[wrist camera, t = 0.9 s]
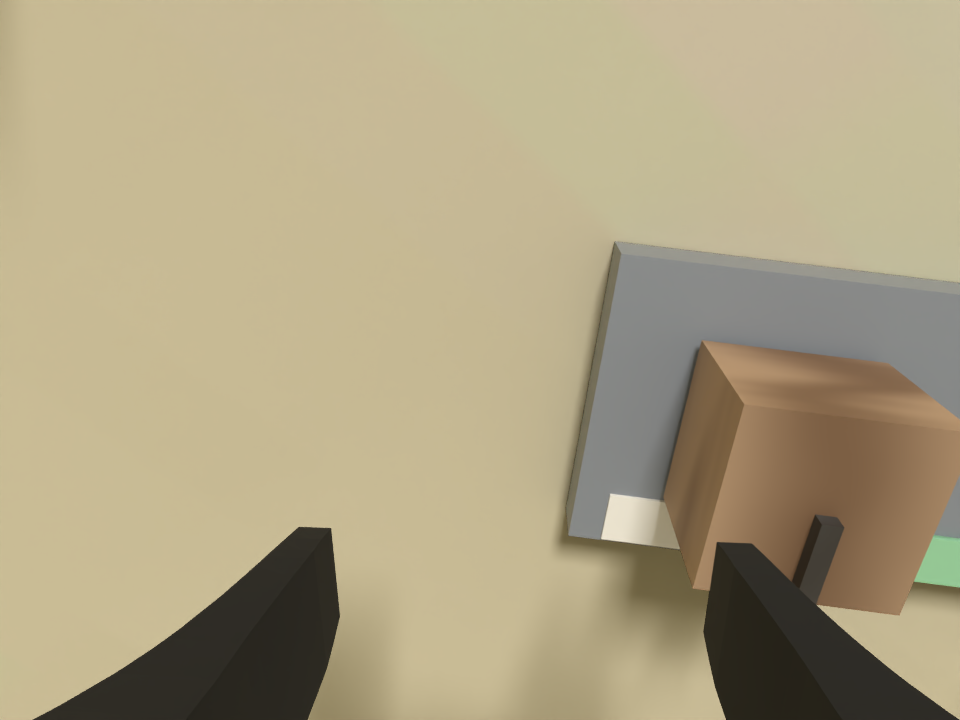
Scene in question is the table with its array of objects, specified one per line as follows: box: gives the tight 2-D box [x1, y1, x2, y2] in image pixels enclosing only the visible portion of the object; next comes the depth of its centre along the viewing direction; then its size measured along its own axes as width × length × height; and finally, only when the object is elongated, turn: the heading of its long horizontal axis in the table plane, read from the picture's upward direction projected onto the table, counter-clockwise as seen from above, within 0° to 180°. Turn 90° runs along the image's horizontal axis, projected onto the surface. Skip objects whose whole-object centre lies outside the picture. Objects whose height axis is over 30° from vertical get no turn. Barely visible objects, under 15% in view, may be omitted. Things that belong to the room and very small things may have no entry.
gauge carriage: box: [663, 340, 960, 615], centre depth 18 cm, size 5×7×4 cm
